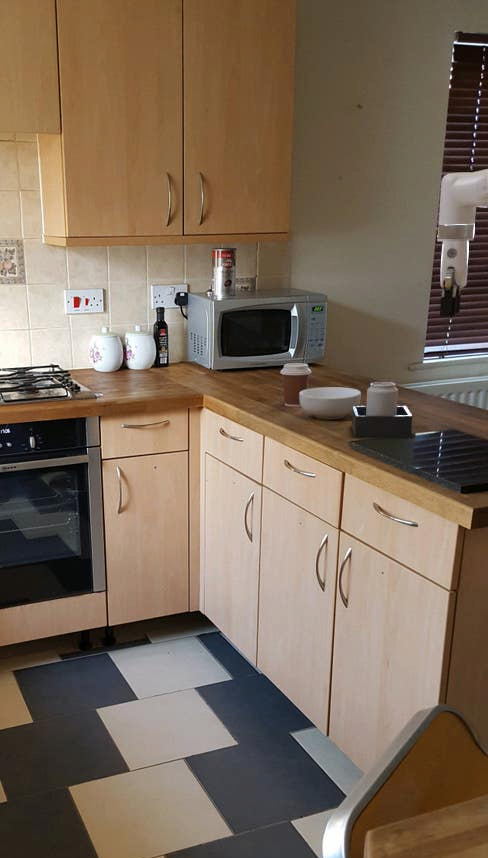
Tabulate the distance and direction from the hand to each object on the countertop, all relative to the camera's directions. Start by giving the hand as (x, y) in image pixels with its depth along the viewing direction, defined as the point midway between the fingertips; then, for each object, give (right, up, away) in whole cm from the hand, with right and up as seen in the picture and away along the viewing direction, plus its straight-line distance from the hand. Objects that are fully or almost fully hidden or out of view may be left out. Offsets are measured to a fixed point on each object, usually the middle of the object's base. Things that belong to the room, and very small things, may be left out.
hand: (449, 314), depth 197 cm
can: (-9, -23, +26) cm, 36 cm away
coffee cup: (-25, -10, +67) cm, 72 cm away
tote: (-9, -23, +26) cm, 36 cm away
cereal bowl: (-18, -16, +48) cm, 53 cm away
